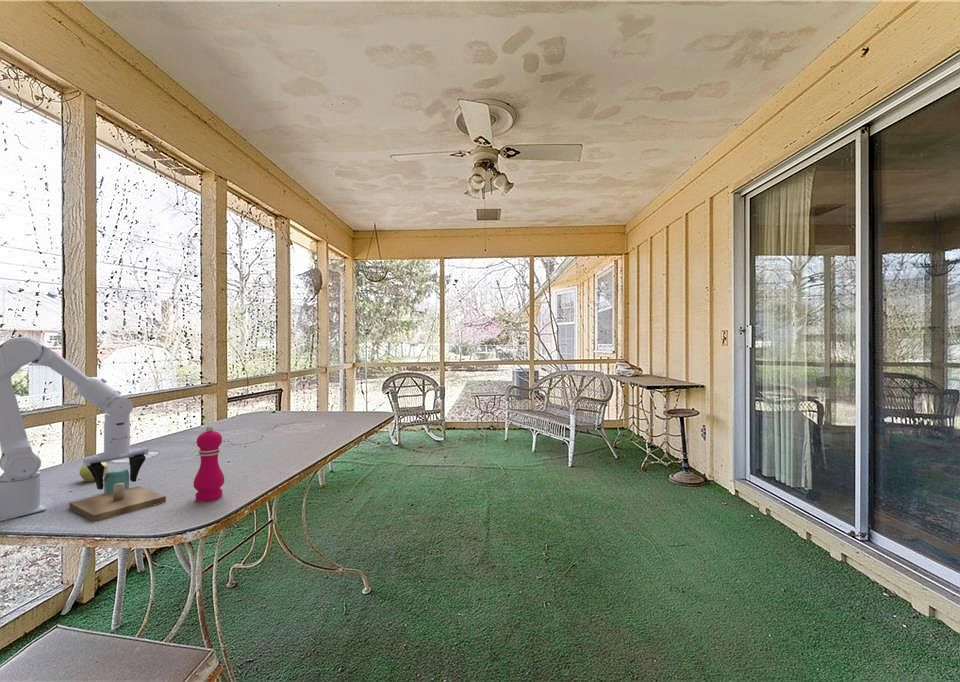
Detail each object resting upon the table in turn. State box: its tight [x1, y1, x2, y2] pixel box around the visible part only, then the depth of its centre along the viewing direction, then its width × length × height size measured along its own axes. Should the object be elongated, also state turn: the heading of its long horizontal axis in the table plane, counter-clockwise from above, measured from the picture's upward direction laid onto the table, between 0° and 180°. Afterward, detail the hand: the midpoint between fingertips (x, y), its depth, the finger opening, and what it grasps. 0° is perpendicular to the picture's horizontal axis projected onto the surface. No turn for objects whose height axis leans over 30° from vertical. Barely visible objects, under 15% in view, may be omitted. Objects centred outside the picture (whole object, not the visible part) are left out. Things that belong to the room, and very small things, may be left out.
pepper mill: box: [193, 425, 225, 503], centre depth 118 cm, size 7×7×20 cm
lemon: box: [79, 462, 109, 483], centre depth 133 cm, size 6×7×7 cm
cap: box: [103, 468, 130, 495], centre depth 122 cm, size 5×5×6 cm
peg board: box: [69, 483, 167, 522], centre depth 112 cm, size 15×16×6 cm
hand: (117, 484), depth 122 cm, fingers open, 7 cm apart
